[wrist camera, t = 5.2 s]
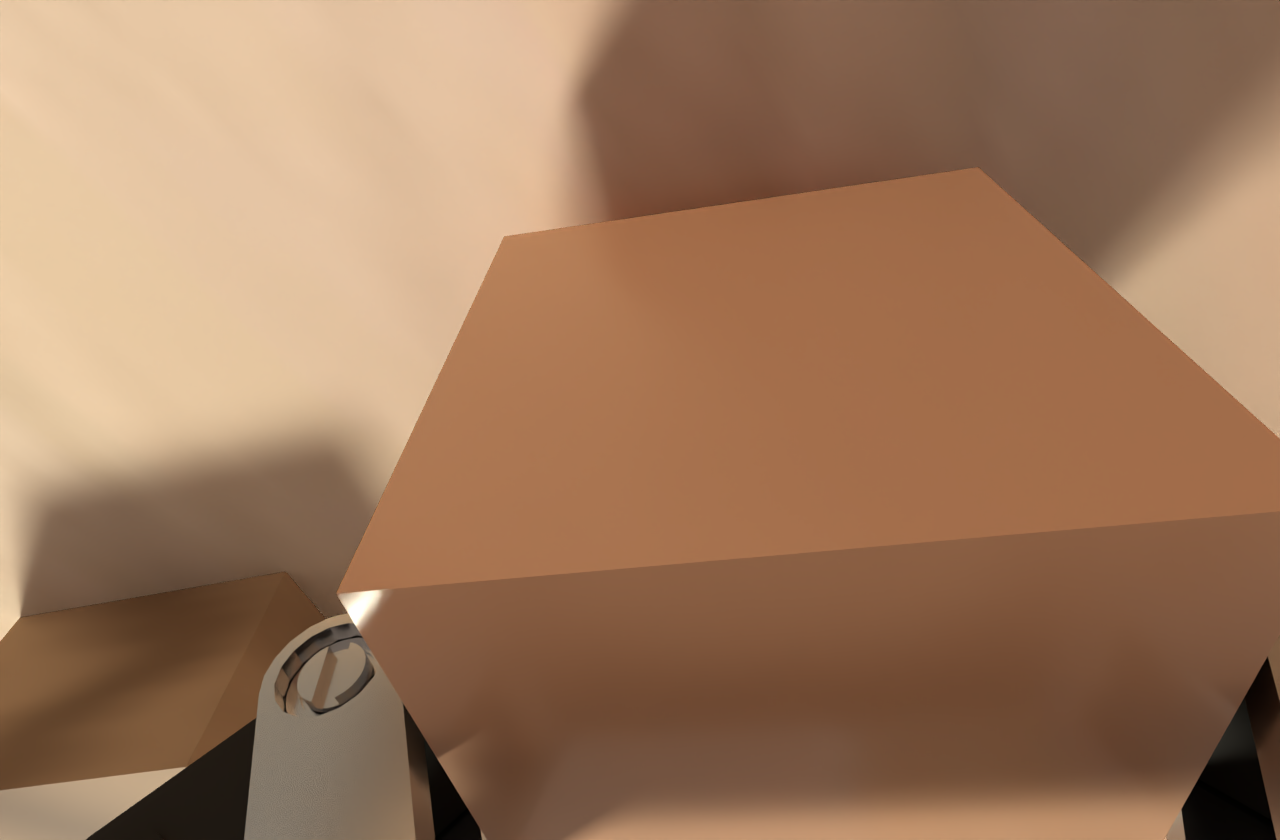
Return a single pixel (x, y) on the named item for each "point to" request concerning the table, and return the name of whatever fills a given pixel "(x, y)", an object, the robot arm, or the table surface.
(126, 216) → the table surface
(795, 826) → the terracotta cube
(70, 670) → the walnut block
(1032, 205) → the table surface
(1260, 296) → the table surface
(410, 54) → the table surface
